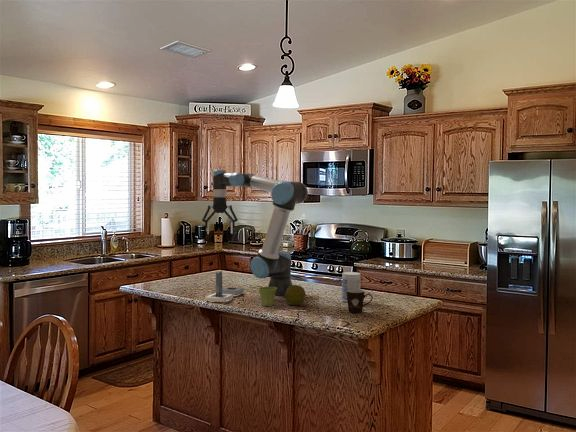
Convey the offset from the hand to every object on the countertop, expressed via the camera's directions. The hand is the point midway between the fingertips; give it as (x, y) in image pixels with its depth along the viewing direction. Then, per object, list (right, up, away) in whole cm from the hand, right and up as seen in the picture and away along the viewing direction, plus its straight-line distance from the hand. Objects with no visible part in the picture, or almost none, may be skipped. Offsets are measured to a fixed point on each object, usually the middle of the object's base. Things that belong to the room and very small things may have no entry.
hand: (220, 233), depth 300 cm
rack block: (+3, -34, -28) cm, 44 cm away
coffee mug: (+72, -35, -55) cm, 97 cm away
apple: (+43, -35, -39) cm, 67 cm away
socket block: (+8, -33, -13) cm, 37 cm away
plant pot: (+29, -35, -39) cm, 60 cm away
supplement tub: (+72, -34, -30) cm, 85 cm away
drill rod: (+3, -34, -28) cm, 44 cm away
